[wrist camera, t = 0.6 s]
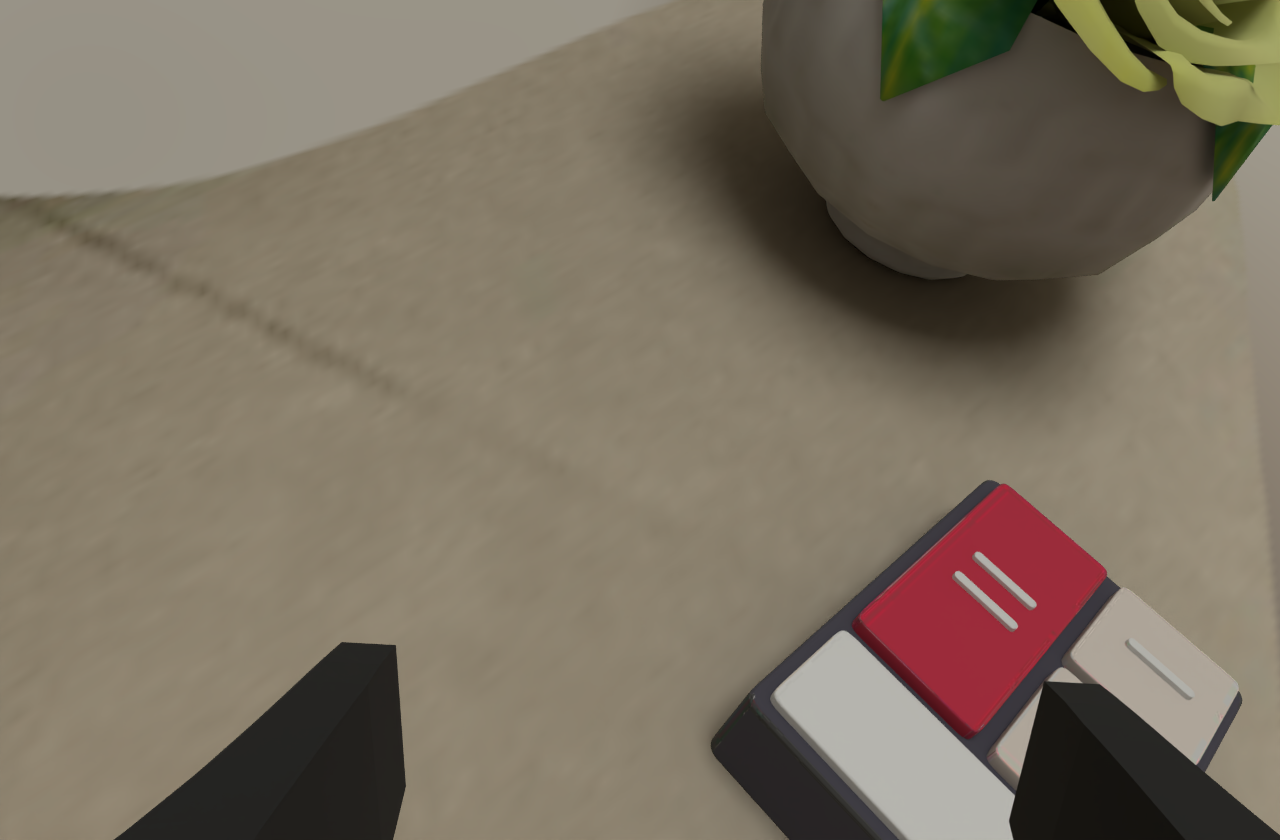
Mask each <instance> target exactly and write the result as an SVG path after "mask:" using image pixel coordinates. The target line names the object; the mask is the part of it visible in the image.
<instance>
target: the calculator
mask: <svg viewBox="0 0 1280 840" xmlns="http://www.w3.org/2000/svg"><path fill="white" fill-rule="evenodd" d="M1044 681H1052V682H1070V683H1088V684H1100V685H1102V686H1103V687H1104V688H1105V689H1107V690H1108V691H1109V692H1111V693H1112V694H1113V695H1114V696H1116V697H1117V698H1118V699H1119V700H1120V701H1122V702H1123V703H1124V704H1125V705H1127V706H1128V707H1129V708H1130V709H1131V710H1133V711H1134V712H1135V713H1136V714H1137V715H1138V716H1140V717H1141V718H1142V719H1143V720H1144V721H1145V722H1147V723H1148V724H1149V725H1150V726H1151V727H1152V728H1154V729H1155V730H1156V731H1157V732H1158V733H1159V734H1161V735H1162V736H1163V737H1164V738H1165V739H1166V740H1168V741H1169V742H1170V743H1171V744H1172V745H1173V746H1174V747H1176V748H1177V749H1178V750H1179V751H1180V752H1181V753H1183V754H1184V755H1185V756H1186V757H1187V758H1188V759H1190V760H1191V761H1192V762H1193V763H1194V764H1195V765H1197V766H1198V767H1199V768H1200V769H1201V770H1202V771H1204V772H1205V771H1206V769H1207V767H1208V765H1209V764H1210V762H1211V760H1212V758H1213V756H1214V754H1215V753H1216V751H1217V749H1218V747H1219V745H1220V743H1221V742H1222V740H1223V738H1224V736H1225V734H1226V732H1227V731H1228V729H1229V727H1230V725H1231V723H1232V721H1233V720H1234V718H1235V716H1236V714H1237V712H1238V710H1239V708H1240V706H1241V704H1242V697H1241V694H1240V692H1239V691H1238V690H1239V686H1238V684H1237V682H1236V681H1235V680H1234V679H1233V678H1232V677H1231V676H1230V675H1229V674H1228V673H1226V672H1225V671H1224V670H1223V669H1222V668H1221V667H1220V666H1218V665H1217V664H1216V663H1215V662H1214V661H1213V660H1211V659H1210V658H1209V657H1208V656H1207V655H1206V654H1204V653H1203V652H1202V651H1201V650H1200V649H1199V648H1197V647H1196V646H1195V645H1194V644H1193V643H1192V642H1190V641H1189V640H1188V639H1187V638H1186V637H1185V636H1183V635H1182V634H1181V633H1180V632H1179V631H1178V630H1176V629H1175V628H1174V627H1173V626H1172V625H1171V624H1169V623H1168V622H1167V621H1166V620H1165V619H1164V618H1162V617H1161V616H1160V615H1159V614H1158V613H1157V612H1155V611H1154V610H1153V609H1152V608H1151V607H1150V606H1149V605H1147V604H1146V603H1145V602H1144V601H1143V600H1142V599H1140V598H1139V597H1138V596H1137V595H1136V594H1135V593H1133V592H1132V591H1131V590H1129V589H1127V588H1124V587H1123V588H1120V587H1119V586H1117V585H1116V584H1115V583H1114V582H1113V581H1112V580H1110V579H1109V578H1108V577H1107V571H1106V570H1105V568H1104V567H1103V566H1102V565H1101V564H1100V563H1098V562H1097V561H1096V560H1095V559H1094V558H1093V557H1092V556H1090V555H1089V554H1088V553H1087V552H1086V551H1085V550H1083V549H1082V548H1081V547H1080V546H1079V545H1078V544H1076V543H1075V542H1074V541H1073V540H1072V539H1071V538H1069V537H1068V536H1067V535H1066V534H1065V533H1064V532H1062V531H1061V530H1060V529H1059V528H1058V527H1057V526H1055V525H1054V524H1053V523H1052V522H1051V521H1050V520H1048V519H1047V518H1046V517H1045V516H1044V515H1043V514H1041V513H1040V512H1039V511H1038V510H1037V509H1036V508H1034V507H1033V506H1032V505H1031V504H1030V503H1029V502H1027V501H1026V500H1025V499H1024V498H1023V497H1022V496H1021V495H1019V494H1018V493H1017V492H1016V491H1015V490H1014V489H1012V488H1011V487H1010V486H1008V485H1006V484H1001V485H1000V484H999V483H997V482H995V481H992V480H987V481H985V482H983V483H982V484H981V485H980V486H978V487H977V488H976V489H975V490H974V491H973V492H972V493H971V494H969V495H968V496H967V497H966V498H965V499H964V500H963V501H962V502H961V503H959V504H958V505H957V506H956V507H955V508H954V509H953V510H952V511H950V512H949V513H948V514H947V515H946V516H945V517H944V518H943V519H942V520H940V521H939V522H938V523H937V524H936V525H935V526H934V527H933V528H932V529H930V530H929V531H928V532H927V533H926V534H925V535H924V536H923V537H921V538H920V539H919V540H918V541H917V542H916V543H915V544H914V545H913V546H911V547H910V548H909V549H908V550H907V551H906V552H905V553H904V554H902V555H901V556H900V557H899V558H898V559H897V560H896V561H895V562H894V563H892V564H891V565H890V566H889V567H888V568H887V569H886V570H885V571H883V572H882V573H881V574H880V575H879V576H878V577H877V578H876V579H875V580H873V581H872V582H871V583H870V584H869V585H868V586H867V587H866V588H865V589H863V590H862V591H861V592H860V593H859V594H858V595H857V596H856V597H854V598H853V599H852V600H851V601H850V602H849V603H848V604H847V605H846V606H844V607H843V608H842V609H841V610H840V611H839V612H838V613H837V614H835V615H834V616H833V617H832V618H831V619H830V620H829V621H828V622H827V623H825V624H824V625H823V626H822V627H821V628H820V629H819V630H818V631H816V632H815V633H814V634H813V635H812V636H811V637H810V638H809V639H808V640H806V641H805V642H804V643H803V644H802V645H801V646H800V647H799V648H798V649H796V650H795V651H794V652H793V653H792V654H791V655H790V656H789V657H787V658H786V659H785V660H784V661H783V662H782V663H781V664H780V665H779V666H777V667H776V668H775V669H774V670H773V671H772V672H771V673H770V674H768V675H767V676H766V677H765V678H764V679H763V680H762V681H761V682H760V683H758V684H757V685H756V686H755V687H754V688H753V689H752V690H751V692H750V693H749V694H748V695H747V696H746V697H745V699H744V700H743V701H742V702H741V704H740V705H739V706H738V707H737V709H736V710H735V711H734V712H733V714H732V715H731V716H730V717H729V719H728V720H727V721H726V722H725V723H724V725H723V726H722V727H721V728H720V730H719V731H718V732H717V734H716V735H715V736H714V738H713V739H712V742H711V749H712V752H713V754H714V756H715V757H716V758H717V759H718V761H719V762H720V763H721V764H722V765H723V766H724V767H725V768H726V770H727V771H728V772H729V773H730V774H731V775H732V776H733V777H734V778H735V780H736V781H737V782H738V783H739V784H740V785H741V786H742V787H743V788H744V790H745V791H746V792H747V793H748V794H749V795H750V796H751V797H752V798H753V800H754V801H755V802H756V803H757V804H758V805H759V806H760V807H761V808H762V810H763V811H764V812H765V813H766V814H767V815H768V816H769V817H770V818H771V820H772V821H773V822H774V823H775V824H776V825H777V826H778V827H779V828H780V830H781V831H782V832H783V833H784V834H785V835H786V836H787V837H788V838H789V840H1013V837H1012V832H1011V828H1010V824H1009V818H1010V814H1011V810H1012V806H1013V802H1014V798H1015V794H1016V790H1017V786H1018V782H1019V778H1020V774H1021V770H1022V766H1023V762H1024V758H1025V755H1026V751H1027V747H1028V743H1029V739H1030V735H1031V731H1032V727H1033V723H1034V719H1035V715H1036V711H1037V707H1038V703H1039V699H1040V695H1041V691H1042V687H1043V683H1044Z"/></svg>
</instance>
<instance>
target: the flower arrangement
mask: <svg viewBox="0 0 1280 840" xmlns="http://www.w3.org/2000/svg"><path fill="white" fill-rule="evenodd" d="M761 74H762V85H763V96H764V107H765V113H766V115H767V116H768V118H769V120H770V121H771V123H772V124H773V126H774V128H775V129H776V131H777V133H778V134H779V136H780V138H781V139H782V141H783V142H784V144H785V146H786V147H787V149H788V151H789V152H790V154H791V155H792V156H793V158H794V159H795V161H796V162H797V164H798V165H799V167H800V168H801V170H802V171H803V173H804V174H805V176H806V177H807V179H808V180H809V181H810V183H811V184H812V186H813V187H814V189H815V190H816V192H817V193H818V194H819V195H820V196H821V197H823V198H824V199H825V200H826V205H827V210H828V212H829V215H830V217H831V218H832V220H833V221H834V223H835V224H836V226H837V227H838V229H839V230H840V232H841V233H842V235H843V236H844V238H846V239H847V240H848V241H849V242H851V243H852V244H853V245H854V246H855V247H857V248H858V249H859V250H860V251H861V252H863V253H864V254H865V255H866V256H867V257H869V258H870V259H872V260H875V261H877V262H879V263H881V264H883V265H885V266H887V267H889V268H891V269H893V270H895V271H897V272H899V273H903V274H907V275H911V276H915V277H920V278H924V279H928V280H934V279H948V278H957V277H962V276H965V275H967V274H969V275H973V276H978V277H982V278H986V279H990V280H1038V279H1050V278H1063V277H1075V276H1088V275H1098V274H1100V273H1102V272H1103V271H1105V270H1107V269H1108V268H1110V267H1111V266H1113V265H1115V264H1116V263H1118V262H1120V261H1121V260H1123V259H1124V258H1126V257H1128V256H1129V255H1131V254H1133V253H1134V252H1136V251H1137V250H1139V249H1141V248H1142V247H1144V246H1146V245H1147V244H1149V243H1151V242H1152V241H1154V240H1155V239H1157V238H1158V237H1160V236H1161V235H1163V234H1164V233H1165V232H1167V231H1168V230H1169V229H1171V228H1172V227H1174V226H1175V225H1176V224H1178V223H1179V222H1180V221H1182V220H1183V219H1185V218H1186V217H1187V216H1189V215H1190V214H1191V213H1193V212H1194V211H1196V210H1197V208H1198V207H1199V206H1200V205H1201V204H1202V203H1203V202H1204V201H1205V200H1206V198H1207V197H1208V196H1209V195H1210V194H1211V193H1212V192H1213V193H1212V201H1215V200H1216V198H1217V197H1218V196H1219V194H1220V193H1221V192H1222V190H1223V189H1224V188H1225V187H1226V185H1227V184H1228V183H1229V181H1230V180H1231V179H1232V177H1233V176H1234V175H1235V173H1236V172H1237V170H1238V169H1239V168H1240V167H1241V165H1242V164H1243V163H1244V162H1245V160H1246V159H1247V158H1248V156H1249V155H1250V154H1251V152H1252V151H1253V150H1254V148H1255V147H1256V146H1257V145H1258V143H1259V142H1260V140H1261V139H1262V138H1263V137H1264V135H1265V134H1266V133H1267V131H1268V130H1269V129H1270V127H1271V126H1272V125H1280V0H764V2H763V18H762V49H761Z"/></svg>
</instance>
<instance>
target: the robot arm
mask: <svg viewBox="0 0 1280 840" xmlns="http://www.w3.org/2000/svg"><path fill="white" fill-rule="evenodd" d="M405 787H406V782H405V768H404V754H403V740H402V726H401V712H400V698H399V683H398V669H397V655H396V645H383V644H364V643H346V642H342V643H340V644H339V645H338V646H337V647H336V648H335V649H333V650H332V651H331V652H330V653H329V654H328V655H327V656H326V657H324V658H323V659H322V660H321V661H320V662H319V663H318V664H317V665H316V666H315V667H314V668H312V669H311V670H310V671H309V672H308V673H307V674H306V675H305V676H304V677H303V678H302V679H301V680H300V681H299V682H297V683H296V684H295V685H294V686H293V687H292V688H291V689H290V690H289V691H288V692H287V693H286V694H285V695H284V696H283V697H281V698H280V699H279V700H278V701H277V702H276V703H275V704H274V705H273V706H272V707H271V708H270V709H268V710H267V711H266V712H265V713H264V714H263V715H262V716H261V717H260V718H259V719H258V720H256V721H255V722H254V723H253V724H252V725H251V726H250V727H249V728H248V729H246V730H245V731H244V732H243V733H242V734H241V735H240V736H239V737H237V738H236V739H235V740H234V741H233V742H232V743H231V744H229V745H228V746H227V747H226V748H225V749H224V750H223V751H222V752H220V753H219V754H218V755H217V756H216V757H215V758H214V759H213V760H211V761H210V762H209V763H208V764H207V765H206V766H205V767H203V768H202V769H201V770H200V771H199V772H198V773H196V774H195V775H194V776H193V777H192V778H190V779H189V780H188V781H187V782H186V783H184V784H183V785H182V786H181V787H179V788H178V789H177V790H176V791H174V792H173V793H172V794H171V795H169V796H168V797H167V798H166V799H165V800H163V801H162V802H161V803H160V804H158V805H157V806H156V807H155V808H153V809H152V810H151V811H150V812H148V813H147V814H146V815H145V816H144V817H142V818H141V819H140V820H139V821H137V822H136V823H135V824H134V825H132V826H131V827H130V828H129V829H127V830H126V831H125V832H123V833H122V834H121V835H120V836H118V837H117V838H116V839H114V840H393V837H394V833H395V829H396V825H397V821H398V817H399V813H400V808H401V804H402V800H403V796H404V792H405ZM1009 824H1010V828H1011V832H1012V837H1013V840H1280V835H1279V834H1278V833H1276V832H1275V831H1274V830H1273V829H1271V828H1270V827H1269V826H1268V825H1267V824H1265V823H1264V822H1263V821H1262V820H1261V819H1259V818H1258V817H1257V816H1256V815H1254V814H1253V813H1252V812H1251V811H1250V810H1248V809H1247V808H1246V807H1245V806H1244V805H1242V804H1241V803H1240V802H1239V801H1238V800H1237V799H1235V798H1234V797H1233V796H1232V795H1231V794H1229V793H1228V792H1227V791H1226V790H1225V789H1223V788H1222V787H1221V786H1220V785H1219V784H1218V783H1216V782H1215V781H1214V780H1213V779H1212V778H1211V777H1209V776H1208V775H1207V774H1206V773H1205V772H1204V771H1202V770H1201V769H1200V768H1199V767H1198V766H1197V765H1195V764H1194V763H1193V762H1192V761H1191V760H1190V759H1188V758H1187V757H1186V756H1185V755H1184V754H1183V753H1181V752H1180V751H1179V750H1178V749H1177V748H1176V747H1174V746H1173V745H1172V744H1171V743H1170V742H1169V741H1168V740H1166V739H1165V738H1164V737H1163V736H1162V735H1161V734H1159V733H1158V732H1157V731H1156V730H1155V729H1154V728H1152V727H1151V726H1150V725H1149V724H1148V723H1147V722H1145V721H1144V720H1143V719H1142V718H1141V717H1140V716H1138V715H1137V714H1136V713H1135V712H1134V711H1133V710H1131V709H1130V708H1129V707H1128V706H1127V705H1125V704H1124V703H1123V702H1122V701H1120V700H1119V699H1118V698H1117V697H1116V696H1114V695H1113V694H1112V693H1111V692H1109V691H1108V690H1107V689H1105V688H1104V687H1103V686H1102V685H1100V684H1088V683H1070V682H1052V681H1044V683H1043V687H1042V691H1041V695H1040V699H1039V703H1038V707H1037V711H1036V715H1035V719H1034V723H1033V727H1032V731H1031V735H1030V739H1029V743H1028V747H1027V751H1026V755H1025V758H1024V762H1023V766H1022V770H1021V774H1020V778H1019V782H1018V786H1017V790H1016V794H1015V798H1014V802H1013V806H1012V810H1011V814H1010V818H1009Z"/></svg>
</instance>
